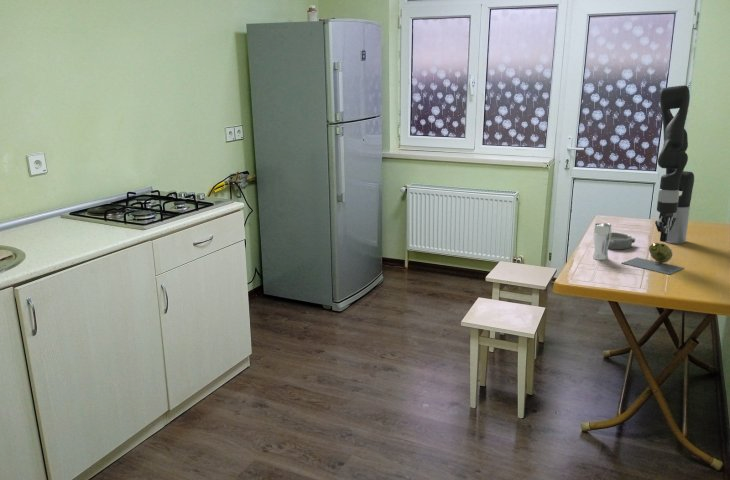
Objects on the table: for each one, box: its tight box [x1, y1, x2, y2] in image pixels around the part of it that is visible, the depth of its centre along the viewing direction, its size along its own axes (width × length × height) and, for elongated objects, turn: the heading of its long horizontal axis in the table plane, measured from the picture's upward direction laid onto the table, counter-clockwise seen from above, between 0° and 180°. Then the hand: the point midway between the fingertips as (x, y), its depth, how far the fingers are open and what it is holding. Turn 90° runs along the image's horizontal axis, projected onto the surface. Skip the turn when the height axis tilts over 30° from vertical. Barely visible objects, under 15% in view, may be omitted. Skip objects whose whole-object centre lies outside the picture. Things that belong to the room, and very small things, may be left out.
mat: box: [621, 256, 685, 275], centre depth 242 cm, size 12×20×1 cm, turn 37°
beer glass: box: [592, 222, 612, 261], centre depth 252 cm, size 7×7×15 cm
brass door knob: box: [648, 242, 673, 264], centre depth 242 cm, size 7×8×10 cm
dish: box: [608, 231, 636, 250], centre depth 271 cm, size 14×14×5 cm
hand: (663, 241), depth 243 cm, fingers closed
